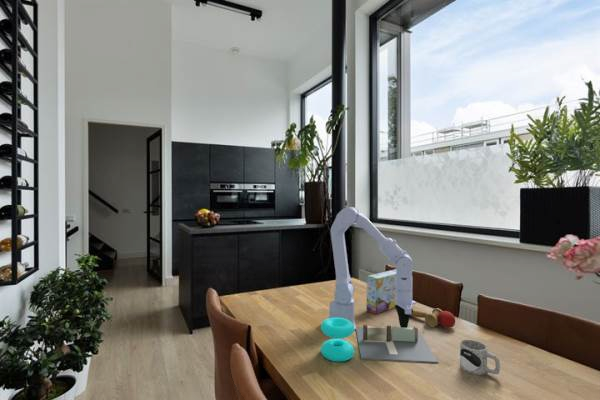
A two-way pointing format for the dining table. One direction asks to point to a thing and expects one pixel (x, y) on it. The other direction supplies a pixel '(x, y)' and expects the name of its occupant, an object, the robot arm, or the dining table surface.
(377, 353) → the card
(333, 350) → the donuts
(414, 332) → the fence gate
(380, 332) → the fence fixed
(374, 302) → the snack box
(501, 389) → the dining table surface
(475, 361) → the mug
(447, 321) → the kendama
